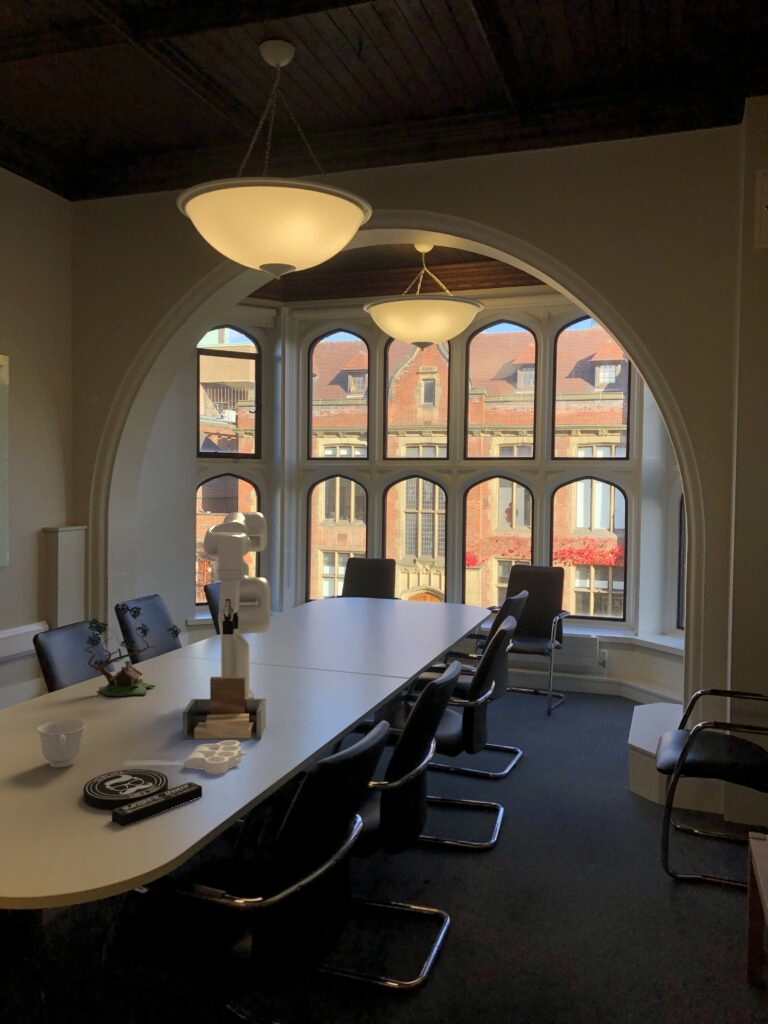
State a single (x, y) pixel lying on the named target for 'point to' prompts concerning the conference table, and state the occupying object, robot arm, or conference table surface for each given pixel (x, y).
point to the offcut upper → (227, 721)
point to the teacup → (61, 741)
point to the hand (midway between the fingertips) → (230, 631)
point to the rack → (201, 709)
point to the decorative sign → (136, 794)
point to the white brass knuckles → (215, 756)
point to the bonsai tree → (128, 676)
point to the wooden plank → (227, 695)
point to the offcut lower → (222, 732)
